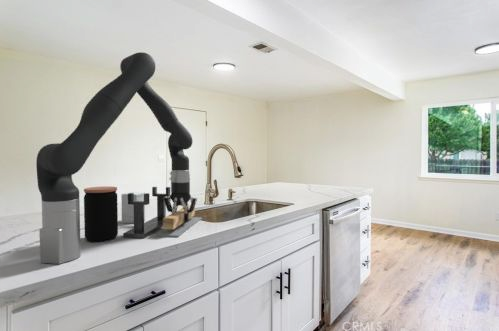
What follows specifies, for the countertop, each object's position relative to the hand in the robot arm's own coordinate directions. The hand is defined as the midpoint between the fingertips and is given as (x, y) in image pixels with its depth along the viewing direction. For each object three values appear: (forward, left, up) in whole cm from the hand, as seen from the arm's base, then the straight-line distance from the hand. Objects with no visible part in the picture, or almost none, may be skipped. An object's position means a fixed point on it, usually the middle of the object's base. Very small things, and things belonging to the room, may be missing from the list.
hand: (180, 221), depth 123 cm
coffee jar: (-20, +22, -2) cm, 30 cm away
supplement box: (+6, +24, -2) cm, 25 cm away
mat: (0, 0, -2) cm, 2 cm away
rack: (-4, +11, -2) cm, 12 cm away
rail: (0, 0, 0) cm, 0 cm away
